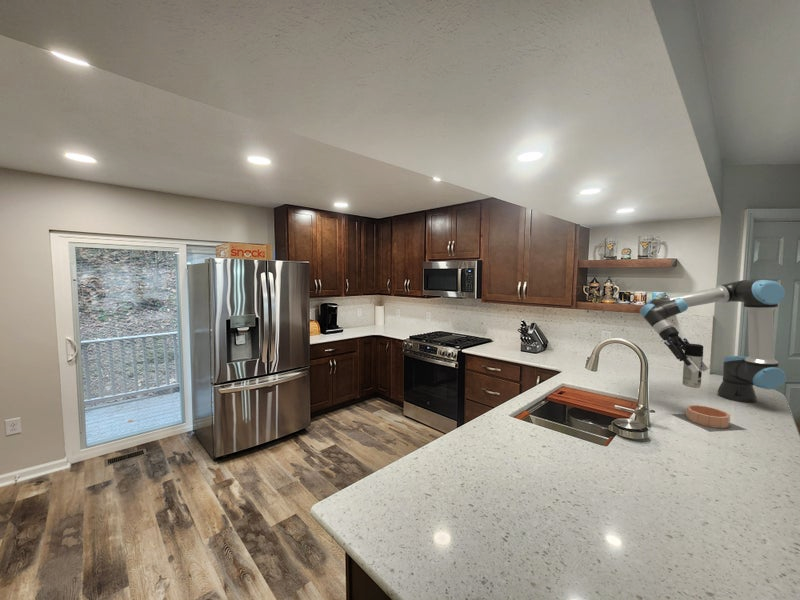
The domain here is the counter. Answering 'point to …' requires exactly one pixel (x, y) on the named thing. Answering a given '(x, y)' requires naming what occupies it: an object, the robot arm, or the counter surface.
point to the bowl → (708, 416)
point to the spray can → (697, 358)
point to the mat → (710, 429)
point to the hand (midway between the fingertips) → (701, 370)
